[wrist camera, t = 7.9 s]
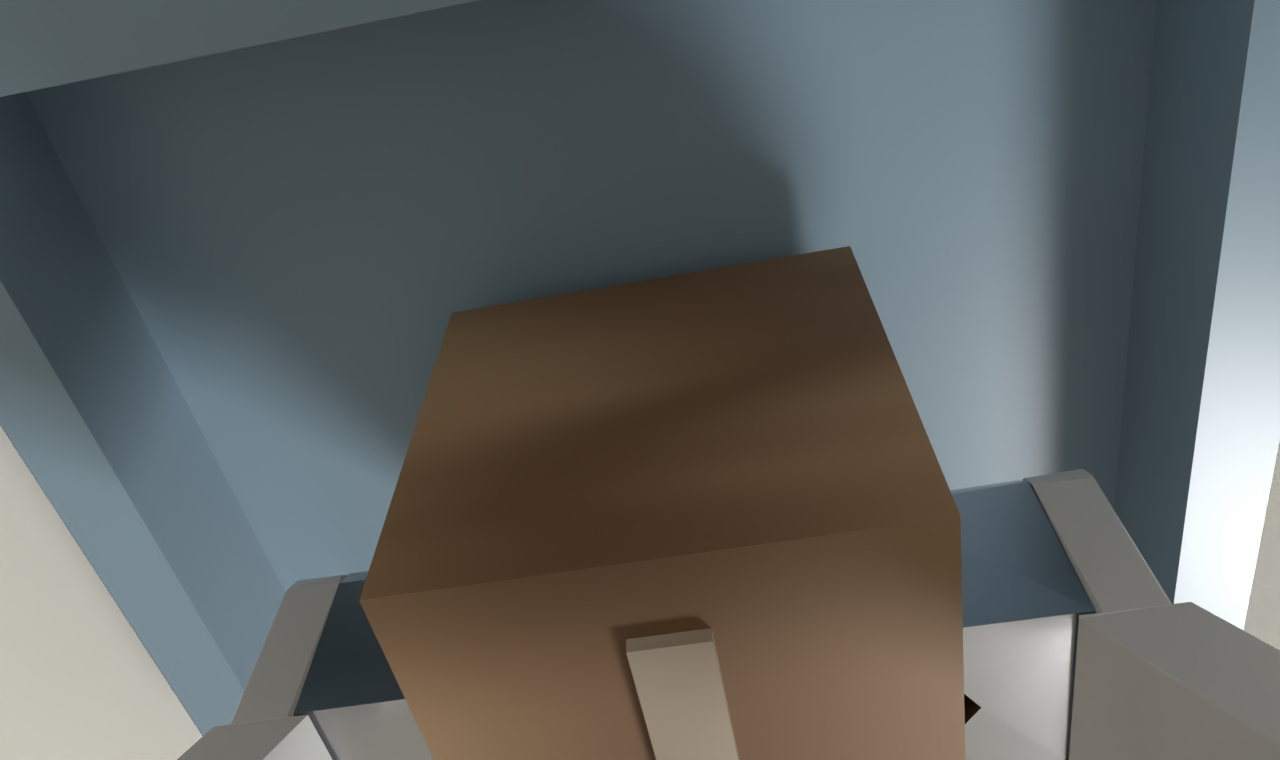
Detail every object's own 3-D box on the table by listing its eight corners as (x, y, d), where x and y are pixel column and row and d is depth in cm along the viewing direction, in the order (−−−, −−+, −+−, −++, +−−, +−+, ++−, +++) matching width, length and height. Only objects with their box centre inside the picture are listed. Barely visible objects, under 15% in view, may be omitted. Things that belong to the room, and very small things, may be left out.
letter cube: (849, 245, 10) (966, 528, 6) (874, 550, 12) (971, 886, 8) (451, 312, 10) (355, 613, 7) (544, 594, 12) (507, 935, 9)
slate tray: (1247, -312, 8) (1424, -326, 6) (1138, 668, 15) (1210, 803, 13) (-81, -25, 9) (-254, 34, 8) (350, 770, 16) (313, 907, 14)
